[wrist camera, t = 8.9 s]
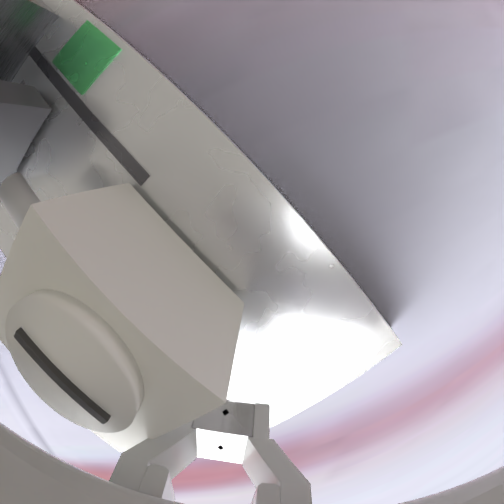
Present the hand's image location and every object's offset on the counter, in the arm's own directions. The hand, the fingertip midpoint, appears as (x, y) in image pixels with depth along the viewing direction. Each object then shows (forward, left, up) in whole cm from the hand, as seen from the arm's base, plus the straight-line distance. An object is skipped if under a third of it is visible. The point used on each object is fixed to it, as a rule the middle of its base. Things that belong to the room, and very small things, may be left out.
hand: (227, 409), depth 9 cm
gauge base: (0, +9, -4) cm, 10 cm away
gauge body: (0, +6, -2) cm, 7 cm away
